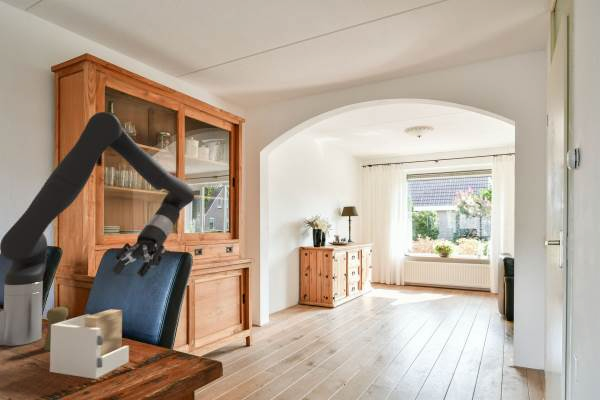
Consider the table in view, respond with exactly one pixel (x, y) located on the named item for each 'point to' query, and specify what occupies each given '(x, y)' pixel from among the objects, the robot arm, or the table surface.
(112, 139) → the robot arm
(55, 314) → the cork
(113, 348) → the block
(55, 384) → the table surface
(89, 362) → the white open box
